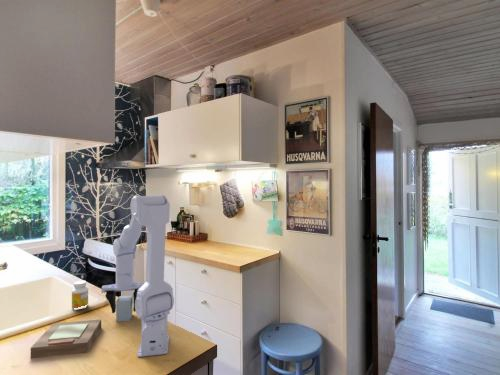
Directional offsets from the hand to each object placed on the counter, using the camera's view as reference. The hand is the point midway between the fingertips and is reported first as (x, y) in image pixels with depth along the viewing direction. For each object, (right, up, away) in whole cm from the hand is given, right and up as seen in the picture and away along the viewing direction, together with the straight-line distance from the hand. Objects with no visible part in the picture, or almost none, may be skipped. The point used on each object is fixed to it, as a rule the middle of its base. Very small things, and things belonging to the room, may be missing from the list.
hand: (124, 311), depth 103 cm
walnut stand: (-10, -3, -15) cm, 19 cm away
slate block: (0, -3, 0) cm, 2 cm away
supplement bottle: (-20, -2, +8) cm, 22 cm away
